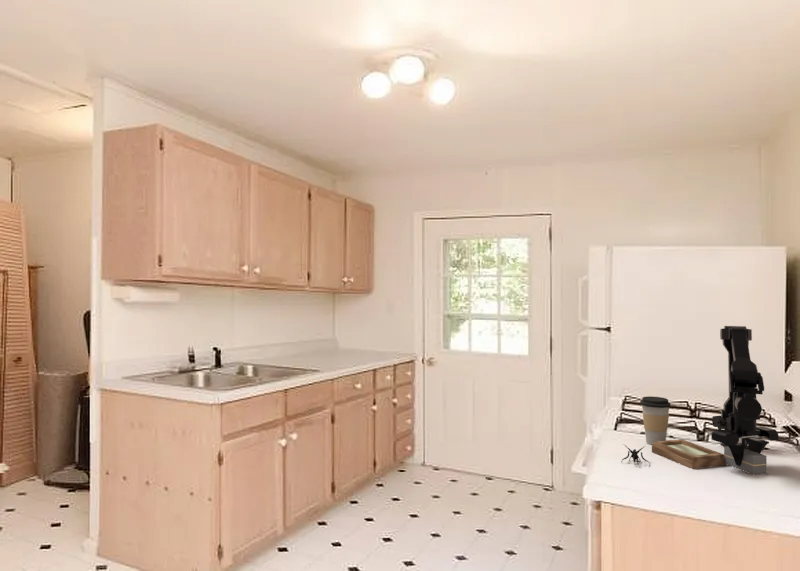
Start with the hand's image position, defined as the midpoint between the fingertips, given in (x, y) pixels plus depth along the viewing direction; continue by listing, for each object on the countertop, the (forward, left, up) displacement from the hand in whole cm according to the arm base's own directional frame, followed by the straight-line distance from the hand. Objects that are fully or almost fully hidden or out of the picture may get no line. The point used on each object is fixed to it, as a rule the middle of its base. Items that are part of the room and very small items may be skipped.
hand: (744, 464), depth 156 cm
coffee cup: (+7, -28, -1) cm, 29 cm away
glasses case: (0, 0, -1) cm, 1 cm away
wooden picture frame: (+9, -12, -1) cm, 15 cm away
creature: (+28, -12, -1) cm, 30 cm away
